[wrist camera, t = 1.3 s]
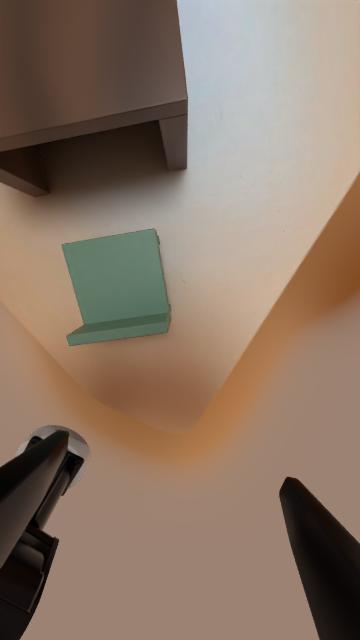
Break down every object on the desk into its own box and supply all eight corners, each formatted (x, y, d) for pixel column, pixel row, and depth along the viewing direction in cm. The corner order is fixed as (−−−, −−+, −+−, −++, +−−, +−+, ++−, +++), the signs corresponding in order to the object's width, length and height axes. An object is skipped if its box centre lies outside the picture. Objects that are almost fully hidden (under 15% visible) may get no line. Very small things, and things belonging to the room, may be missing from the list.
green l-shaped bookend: (101, 322, 21) (68, 346, 15) (82, 247, 19) (35, 240, 13) (173, 312, 20) (167, 333, 14) (160, 234, 18) (148, 221, 12)
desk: (34, 196, 18) (-70, 153, 11) (-36, -35, 14) (-266, -343, 7) (187, 168, 17) (188, 99, 10) (155, -86, 13) (119, -500, 6)
